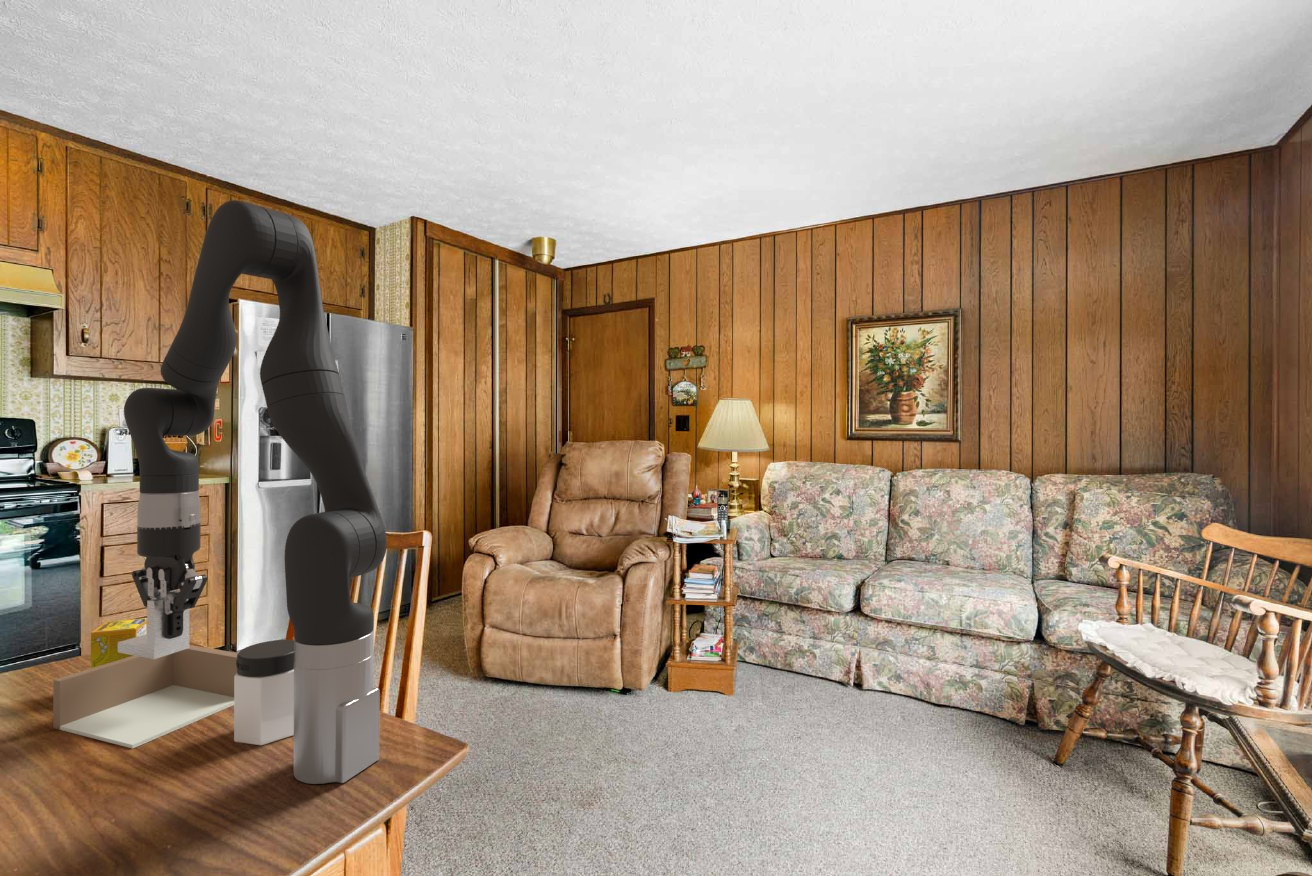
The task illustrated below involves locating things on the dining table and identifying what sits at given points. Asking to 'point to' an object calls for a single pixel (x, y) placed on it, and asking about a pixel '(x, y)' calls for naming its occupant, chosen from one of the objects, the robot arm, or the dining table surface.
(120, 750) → the dining table surface
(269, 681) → the jar
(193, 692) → the tray
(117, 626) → the supplement box
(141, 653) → the bracket
